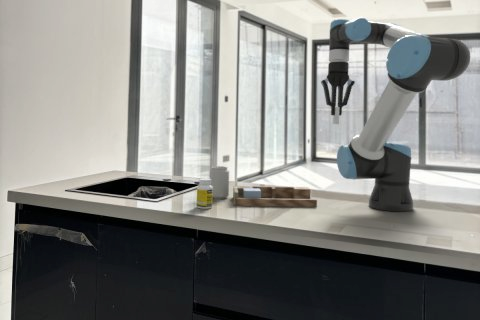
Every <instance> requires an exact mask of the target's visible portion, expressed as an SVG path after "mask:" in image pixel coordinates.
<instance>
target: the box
mask: <svg viewBox="0 0 480 320" xmlns="http://www.w3.org/2000/svg"><path fill="white" fill-rule="evenodd" d="M243 188H259V189H260V190H261V198H243ZM232 191H233V193H232V197H233V205H234V207H235V206H236V207H238V206H239V207H240V206H241V207H247V206H248V207H297V208H298V207H299V208H300V207H303V208H304V207H305V208H306V207H309V208H315V207H316V208H317V206H318V200H317V198H316V199H314V198H313V199H312V198H311V188H310V187H308V186H266V185H265V186H263V185H261V186H260V185H258V186H257V185H256V186H255V185H252V186H251V185H250V186H249V185H233V189H232Z"/></svg>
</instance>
